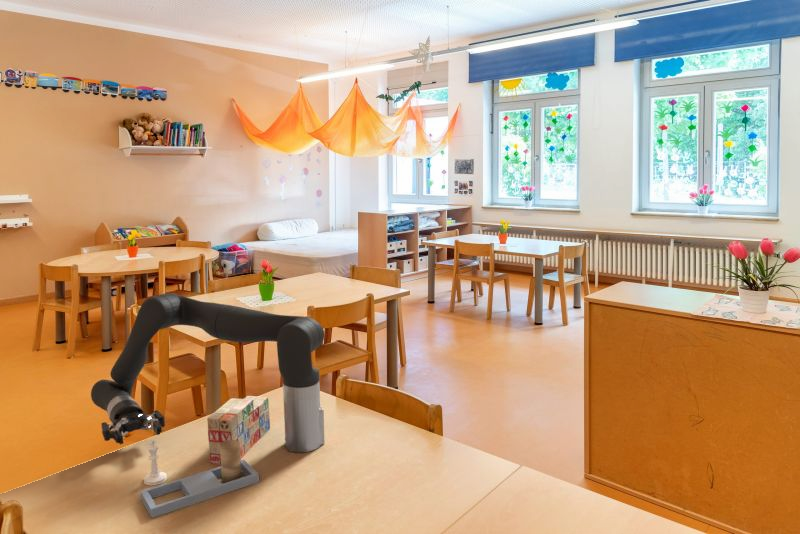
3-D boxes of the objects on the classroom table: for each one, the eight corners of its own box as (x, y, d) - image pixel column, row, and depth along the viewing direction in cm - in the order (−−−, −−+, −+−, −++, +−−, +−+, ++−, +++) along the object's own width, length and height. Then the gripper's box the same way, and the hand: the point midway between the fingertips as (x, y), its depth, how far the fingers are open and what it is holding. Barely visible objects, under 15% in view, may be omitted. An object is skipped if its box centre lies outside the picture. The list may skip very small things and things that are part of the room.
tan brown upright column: (237, 473, 142) (235, 438, 140) (244, 481, 138) (242, 445, 137) (219, 479, 139) (216, 443, 138) (226, 487, 136) (223, 450, 134)
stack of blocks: (249, 426, 167) (247, 384, 165) (270, 428, 166) (268, 386, 163) (209, 464, 146) (206, 417, 144) (233, 467, 145) (230, 419, 143)
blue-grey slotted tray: (244, 466, 145) (244, 459, 145) (258, 481, 138) (258, 473, 138) (141, 499, 131) (140, 491, 131) (151, 518, 124) (151, 509, 124)
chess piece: (139, 483, 138) (135, 442, 136) (155, 472, 142) (152, 433, 141) (155, 487, 136) (152, 446, 134) (171, 476, 141) (168, 436, 139)
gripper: (94, 406, 155) (107, 429, 142) (152, 393, 163) (169, 414, 150) (96, 433, 156) (110, 458, 144) (154, 419, 165) (171, 442, 152)
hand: (140, 435), depth 147 cm, fingers open, 8 cm apart
